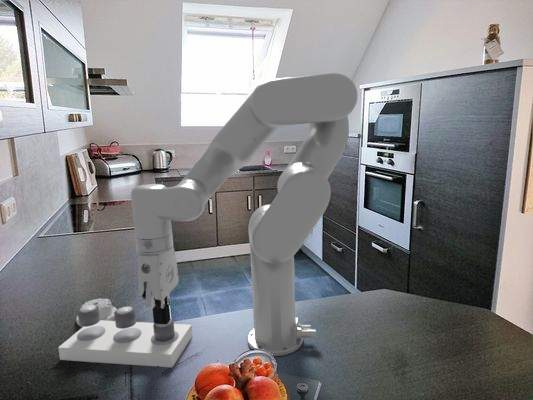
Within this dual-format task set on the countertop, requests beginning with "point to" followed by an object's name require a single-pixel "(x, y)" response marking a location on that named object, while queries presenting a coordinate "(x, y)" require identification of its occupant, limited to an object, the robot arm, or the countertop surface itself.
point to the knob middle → (125, 317)
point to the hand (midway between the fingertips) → (162, 322)
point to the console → (125, 345)
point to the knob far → (88, 315)
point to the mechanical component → (102, 309)
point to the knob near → (164, 331)
